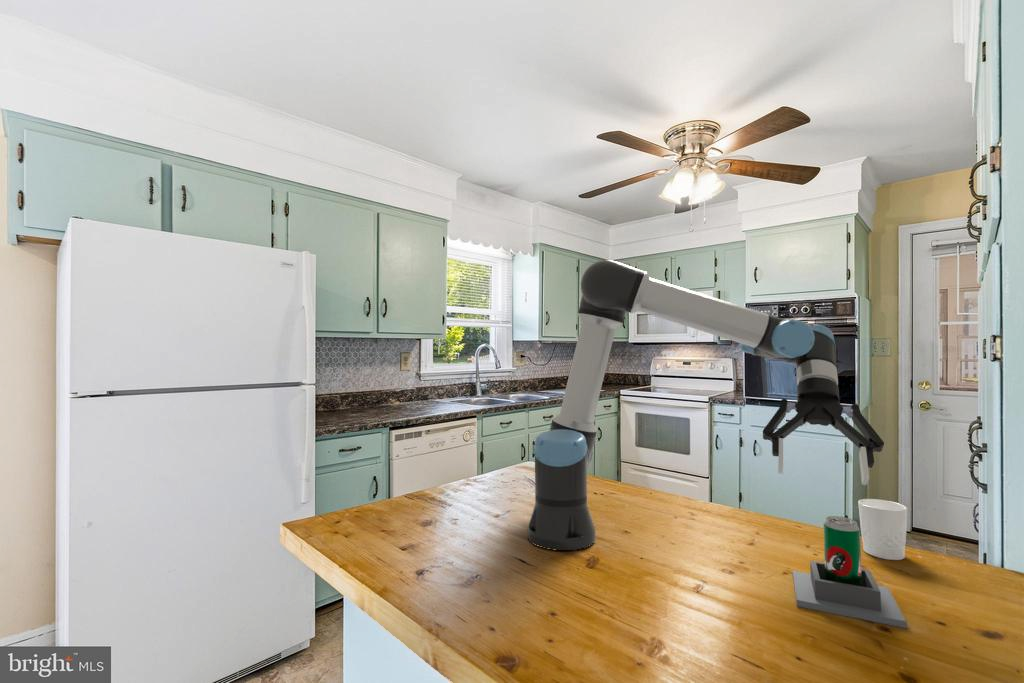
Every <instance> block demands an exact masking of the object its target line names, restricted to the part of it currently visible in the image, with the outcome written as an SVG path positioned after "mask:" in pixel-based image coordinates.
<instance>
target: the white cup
mask: <svg viewBox="0 0 1024 683" xmlns="http://www.w3.org/2000/svg"><path fill="white" fill-rule="evenodd" d="M857 503H858V514H859V515H858V516H859V524H860V527H859V528H860V537H861V539H862V549H863V551H864V552H865V553H867V554H868V555H871V556H873V557H876V558H879V559H884V560H891V561H902V560H903V559H906V543H907V525H908V524H907V520H908V519H907V518H908V517H907V516H908V515H907V514H908V508H907V506H905V505H903V504H902V503H898V502H894V501H890V500H885V499H878V498H876V499H875V498H862V499H859V500H858V501H857Z"/></svg>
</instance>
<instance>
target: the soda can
mask: <svg viewBox="0 0 1024 683" xmlns="http://www.w3.org/2000/svg"><path fill="white" fill-rule="evenodd" d="M822 526H823V553H824V556H823V558H824V563H825V580H827V581H833V582H839V583H844V584H850V585H856V586H861V587H862V571H861V569H862V550H861V549H862V544H861V528H860V527H859V526H858V522H857V521H855V520H854V519H852V518H848V517H843V516H836V515H833V516H832V515H830V516H827V517H825V521H824V523H823V525H822Z"/></svg>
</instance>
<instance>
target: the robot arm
mask: <svg viewBox="0 0 1024 683" xmlns="http://www.w3.org/2000/svg"><path fill="white" fill-rule="evenodd" d="M580 290H581V299H580V303H579V307H578V311H577V316H578V318H579V319H580V321H581V324H580V328H579V333H578V336H577V337H578V338H577V341H576V346H575V350H574V353H573V357H572V361H571V366H570V371H569V374H568V379H567V383H566V387H565V391H564V395H563V398H562V403H561V408H560V412H559V413H558V414H556V415H555V416H554V417H552V418H551V423H550V427H549V430H548V431H543V432H541V433H539V434H538V435H537V436H536V438H535V439H534V447H533V454H534V486H535V487H534V489H535V490H534V491H535V495H534V497H535V498H534V499H535V502H534V505H533V506H534V507H533V510H532V513H531V515H530V518H529V522H528V528H527V539H528V538H529V540H530V541H531V542H532V543H534V544H536V545H539V546H542V547H545V548H550V549H556V550H573V551H578V550H577V549H580V550H582V549H581V548H584V547H587V546H589V545H591V544H592V543H593V542H594V541H595V542H596V527H595V525H594V522H593V518H592V514H591V512H590V509H589V507H588V480H587V478H588V477H587V472H588V467H589V464H590V463H591V461H592V458H593V453H594V452H593V450H594V445H595V441H596V437H597V433H598V429H597V427H596V425H595V423H594V420H595V415H596V410H597V407H598V402H599V399H600V395H601V390H602V385H603V382H604V378H605V374H606V371H607V370H606V369H607V366H608V361H609V357H610V354H611V348H612V344H613V341H614V336H615V332H616V331H617V330H618V329H619V328H620V327H622V326H623V325H624V321H625V317H626V313H630V314H633V313H635V312H641V313H645V314H647V315H651V316H654V317H657V318H660V319H663V320H667V321H669V322H672V323H676V324H679V325H682V326H686V327H689V328H692V329H695V330H697V331H701V332H703V333H708V334H710V335H714V336H717V337H720V338H722V339H725V340H729V341H732V342H734V343H738V344H739V348H740V350H741V351H742V352H743V353H746V354H750V355H752V356H758V357H763V358H767V359H772V360H776V361H782V362H786V363H789V364H790V363H791V364H795V365H796V385H797V386H796V389H797V390H796V392H797V395H796V396H797V398H796V402H790V401H788V399H786V398H781V401H780V404H779V408H778V409H777V411H776V412H775V414H774V415H773V416H772V417H771V418H770V420H769V421H768V422H767V424H766V425H765V427H764V428H763V429H762V438H763V440H765V441H770V442H771V443H772V444H771V448H772V449H771V454H772V456H773V457H778V458H777V459H778V461H777V462H778V464H777V466H778V468H777V469H778V471H777V473H778V474H782V475H783V474H784V439H785V438H786V437H788V436H789V435H790V434H792V433H793V432H794V431H796V430H797V428H799V427H802V426H803V425H804V424H806V423H808V424H809V425H813V426H814V425H815V426H816V425H820V426H825V427H828V426H832V427H833V429H835V430H838V431H839V432H840V433H842V434H843V435H844V436H845V437H846V438H847V439H848V440H850V441H851V442H852V444H854V445H855V446H856V447H858V448H859V452H858V458H859V466H860V468H859V470H860V479H861V485H863V486H867V485H868V483H869V480H870V474H869V468H874V464H875V456H874V452H876V453H881V452H882V451H883V448H884V445H885V442H884V440H883V439H882V438H881V436H880V435H879V434H878V433H877V432H876V430H875V429H874V428H873V427H872V425H871V424H870V423H869V421H868V420H867V419H866V417H865V416H863V414H862V413H861V408H860V406H859V404H857V403H852V404H851V406H843V405H842V404H841V402H840V389H839V388H840V387H839V378H838V367H837V353H836V351H837V350H836V348H837V345H836V341H835V340H836V339H835V337H834V334H833V333H834V332H833V331H832V330H831V329H830V328H829V327H827V326H825V325H822V324H814V325H810V324H807V323H806V322H805V321H803V320H798V319H795V318H794V319H790V318H789V319H785V318H782V317H778V316H775V315H770V314H769V313H765V312H763V311H758V310H755V309H754V308H753V309H752V308H749V307H745V306H743V305H739V304H736V303H733V302H729V301H726V300H723V299H720V298H716V297H713V296H709V295H707V294H704V293H701V292H696V291H693V290H690V289H687V288H684V287H680V286H677V285H673V284H671V283H667V282H665V281H662V280H658V279H655V278H652V277H650V275H649V274H648V272H647V271H644V270H641V269H638V268H635V267H633V266H630V265H627V264H624V263H622V262H619V261H617V260H616V261H615V260H610V259H603V260H598V261H596V262H594V263H592V264H591V265H590V266H588V267H587V268H586V270H585V271H584V273H583V274H582V277H581V280H580ZM792 410H795V412H796V413H795V414H796V415H795V416H793V417H792V418H791V419H790V420H788V421H787V422H786V423H785V424H784V425H782V426H780V425H781V423H782V421H783V420H784V419H785V417H786V416H787V414H788V413H790V412H791V411H792ZM843 414H845V415H846V416H847V417H848V419H851V420H852V422H853V425H855V426H856V428H857V429H858V430H859V431H858V430H857V429H856V428H855V427H853V426H852V425H851V424H850V423H849V422H848V421H846V420H845V418H844V417H843ZM779 426H780V428H778V427H779ZM777 428H778V429H777ZM776 429H777V430H776ZM529 540H528V541H529ZM530 541H529V542H530ZM531 542H530V543H531ZM595 542H594V543H595ZM532 543H531V544H532ZM534 544H533V545H534ZM536 545H535V546H536ZM592 545H593V544H592ZM592 545H591V546H592ZM589 547H590V546H589ZM587 548H588V547H587ZM584 549H585V548H584Z"/></svg>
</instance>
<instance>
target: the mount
mask: <svg viewBox="0 0 1024 683" xmlns="http://www.w3.org/2000/svg"><path fill="white" fill-rule="evenodd" d="M809 562H810V564H809V566H810V573H808V572H803V571H798V570H792V579H793V587H794V594H795V596H794V597H795V602H796V607H799V608H803V609H804V608H805V609H810V610H814V611H820V612H825V613H829V614H835V615H838V616H839V615H840V616H845V617H847V618H854V619H859V620H864V621H869V622H873V623H878V624H884V625H889V626H893V627H899V628H902V629H907V620H906V618H905V616H904V614H903V613H902V611H901V609H900V607H899V606H898V604H897V601H896V600H895V598H894V596H893V594H892V592H891V591H890V588H889V587H888V586H883V585H880V584H879V585H878V584H877V582H876V580H875V577H874V575H873V574H872V571H871V570H870V569H866V568H861V571H862V587H861V586H856V585H850V584H844V583H839V582H833V581H827V580H825V561H823V562H822V561H817V560H816V561H815V560H810V561H809Z"/></svg>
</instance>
